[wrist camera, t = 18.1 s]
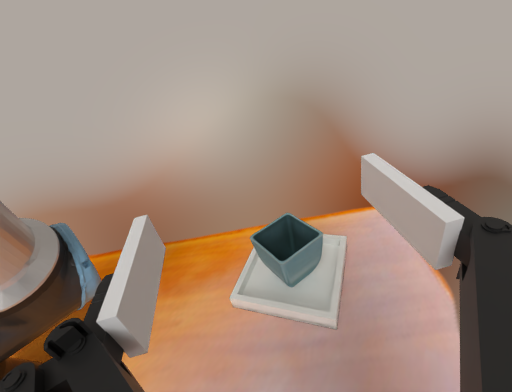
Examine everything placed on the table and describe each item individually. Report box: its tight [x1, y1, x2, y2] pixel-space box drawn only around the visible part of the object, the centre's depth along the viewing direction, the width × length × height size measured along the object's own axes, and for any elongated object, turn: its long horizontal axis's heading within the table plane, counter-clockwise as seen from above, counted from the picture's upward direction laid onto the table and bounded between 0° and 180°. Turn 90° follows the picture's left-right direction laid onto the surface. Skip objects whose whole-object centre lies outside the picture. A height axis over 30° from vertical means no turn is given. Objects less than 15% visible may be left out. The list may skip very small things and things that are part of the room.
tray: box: [230, 234, 347, 330], centre depth 48 cm, size 17×17×2 cm
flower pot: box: [250, 213, 323, 287], centre depth 46 cm, size 9×9×9 cm
